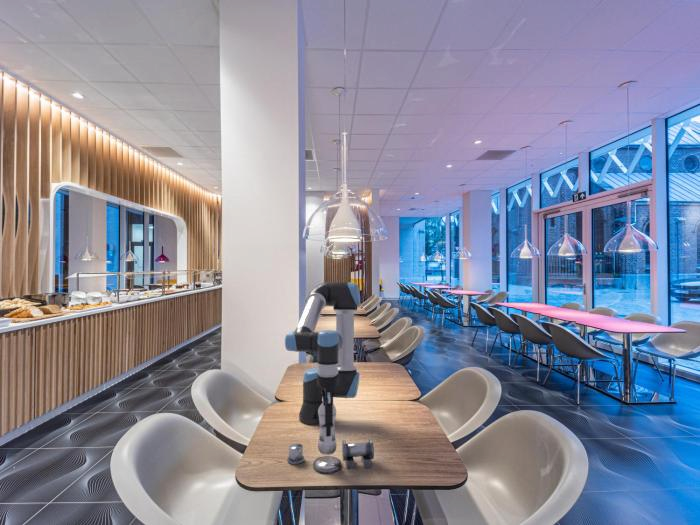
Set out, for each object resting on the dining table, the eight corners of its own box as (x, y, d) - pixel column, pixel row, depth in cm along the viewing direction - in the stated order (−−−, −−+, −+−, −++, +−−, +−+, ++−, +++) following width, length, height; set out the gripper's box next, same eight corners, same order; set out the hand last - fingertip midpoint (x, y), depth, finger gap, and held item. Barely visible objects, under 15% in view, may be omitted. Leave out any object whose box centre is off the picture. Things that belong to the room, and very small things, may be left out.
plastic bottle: (329, 459, 124) (330, 399, 125) (314, 454, 127) (314, 396, 128) (340, 451, 129) (340, 394, 130) (324, 446, 133) (325, 391, 134)
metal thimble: (283, 461, 131) (284, 447, 131) (294, 455, 136) (294, 441, 136) (296, 466, 128) (296, 452, 128) (307, 459, 133) (307, 445, 133)
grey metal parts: (313, 474, 123) (313, 450, 123) (312, 459, 132) (312, 437, 133) (375, 470, 126) (375, 446, 126) (369, 456, 135) (369, 434, 136)
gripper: (341, 381, 121) (340, 452, 120) (335, 367, 140) (335, 428, 138) (318, 382, 120) (318, 453, 119) (316, 368, 138) (315, 429, 137)
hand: (327, 440), depth 128 cm, fingers closed on plastic bottle, 6 cm apart
